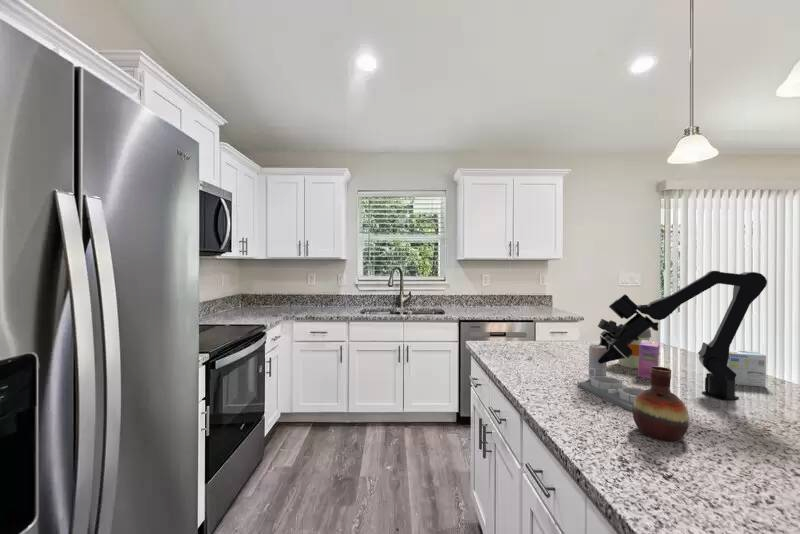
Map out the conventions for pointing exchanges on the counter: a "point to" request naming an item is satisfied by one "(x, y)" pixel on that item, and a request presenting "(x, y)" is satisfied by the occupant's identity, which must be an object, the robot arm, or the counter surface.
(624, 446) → the counter surface
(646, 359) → the box
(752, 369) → the light bulb box
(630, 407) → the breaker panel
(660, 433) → the vase
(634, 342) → the reusable coffee cup
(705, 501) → the counter surface
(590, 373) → the energy drink
